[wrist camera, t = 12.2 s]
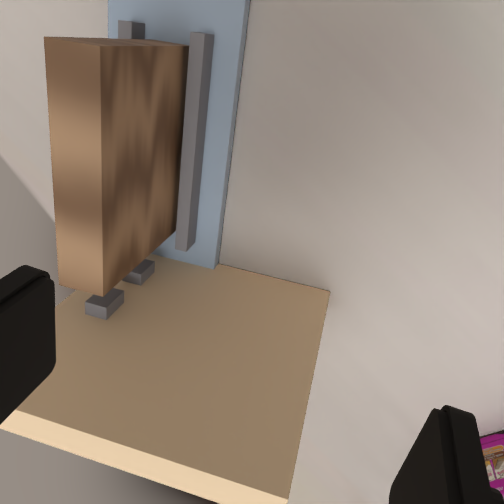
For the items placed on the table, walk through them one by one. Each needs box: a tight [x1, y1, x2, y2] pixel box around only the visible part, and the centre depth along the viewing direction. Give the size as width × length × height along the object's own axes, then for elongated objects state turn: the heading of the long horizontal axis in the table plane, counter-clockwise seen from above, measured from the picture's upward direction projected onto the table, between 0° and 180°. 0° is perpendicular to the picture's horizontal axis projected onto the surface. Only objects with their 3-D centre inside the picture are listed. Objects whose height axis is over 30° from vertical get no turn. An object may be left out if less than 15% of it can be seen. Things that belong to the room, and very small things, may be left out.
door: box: [44, 37, 189, 297], centre depth 30 cm, size 15×3×12 cm, turn 172°
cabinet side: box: [0, 0, 330, 504], centre depth 27 cm, size 24×20×20 cm
